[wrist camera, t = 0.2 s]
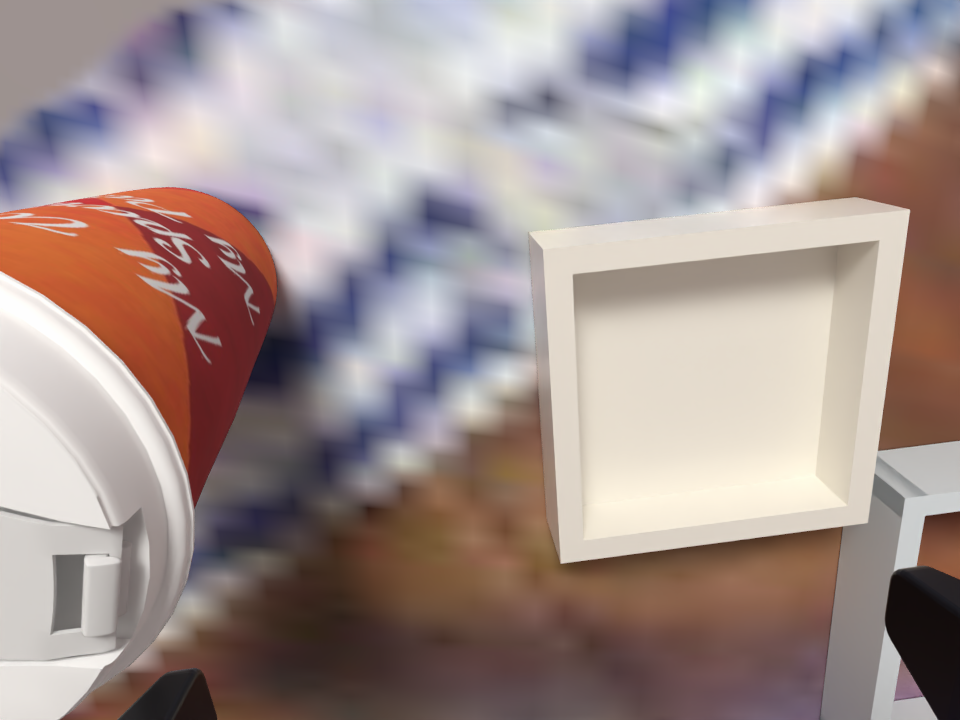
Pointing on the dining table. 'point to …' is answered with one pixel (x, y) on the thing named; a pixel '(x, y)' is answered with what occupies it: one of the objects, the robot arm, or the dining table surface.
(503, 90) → the dining table surface
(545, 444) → the dish
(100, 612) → the paper cup
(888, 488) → the white c-shaped bracket
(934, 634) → the robot arm
